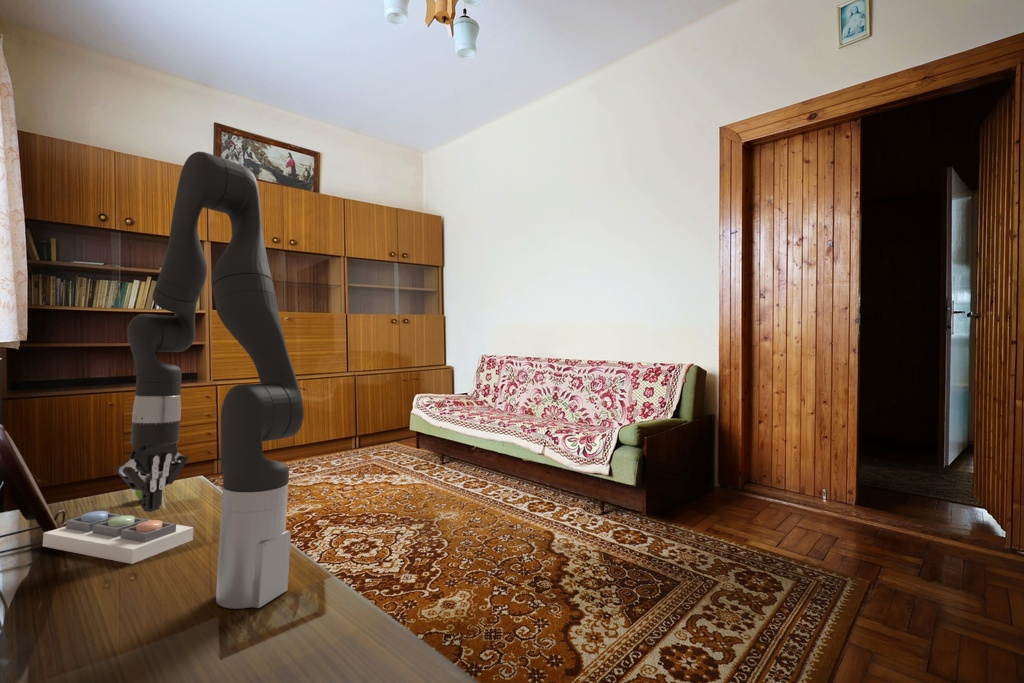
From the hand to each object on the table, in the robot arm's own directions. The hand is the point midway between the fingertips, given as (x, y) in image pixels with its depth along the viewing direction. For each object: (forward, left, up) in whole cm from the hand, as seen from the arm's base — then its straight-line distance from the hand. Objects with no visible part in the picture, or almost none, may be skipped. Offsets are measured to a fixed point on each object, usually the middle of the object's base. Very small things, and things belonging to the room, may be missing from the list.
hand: (151, 510), depth 92 cm
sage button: (+7, 0, -5) cm, 9 cm away
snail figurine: (+27, -22, -7) cm, 36 cm away
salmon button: (0, 0, -5) cm, 5 cm away
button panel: (+7, 0, -7) cm, 10 cm away
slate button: (+14, 0, -4) cm, 15 cm away
